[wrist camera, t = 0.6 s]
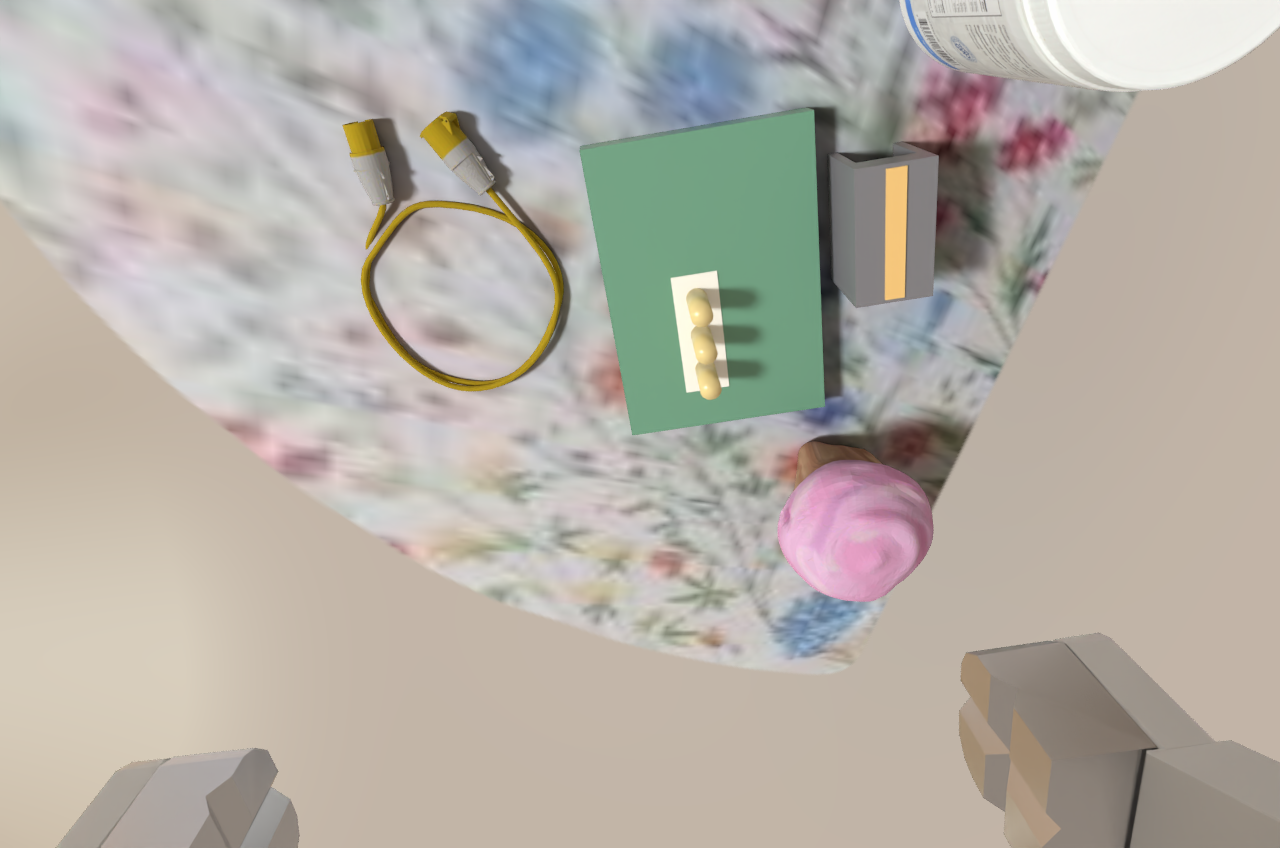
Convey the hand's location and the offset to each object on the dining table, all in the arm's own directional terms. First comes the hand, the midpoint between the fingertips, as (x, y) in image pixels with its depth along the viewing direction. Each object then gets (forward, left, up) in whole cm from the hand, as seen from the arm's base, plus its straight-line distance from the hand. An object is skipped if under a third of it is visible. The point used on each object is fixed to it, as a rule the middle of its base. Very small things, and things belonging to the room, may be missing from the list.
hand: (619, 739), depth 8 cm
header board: (+6, +4, -35) cm, 36 cm away
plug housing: (+4, +13, -35) cm, 38 cm away
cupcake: (+20, +11, -35) cm, 42 cm away
